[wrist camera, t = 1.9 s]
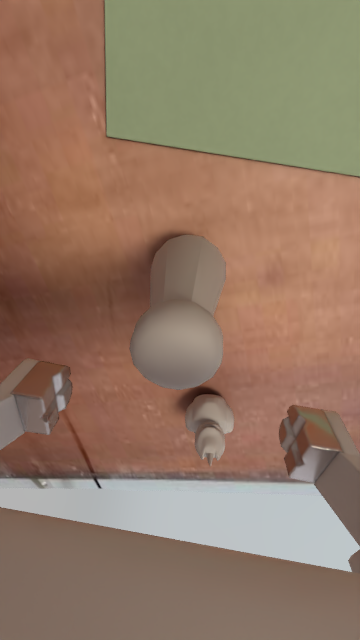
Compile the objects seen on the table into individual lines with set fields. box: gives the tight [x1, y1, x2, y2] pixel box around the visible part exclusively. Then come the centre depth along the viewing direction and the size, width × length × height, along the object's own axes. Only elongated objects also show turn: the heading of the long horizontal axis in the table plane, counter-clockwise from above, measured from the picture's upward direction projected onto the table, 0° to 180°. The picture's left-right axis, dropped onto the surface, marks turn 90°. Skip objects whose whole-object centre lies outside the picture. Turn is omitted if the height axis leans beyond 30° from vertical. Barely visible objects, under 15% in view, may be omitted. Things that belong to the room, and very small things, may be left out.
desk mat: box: [105, 0, 360, 177], centre depth 13 cm, size 25×15×1 cm, turn 82°
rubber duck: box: [185, 394, 234, 466], centre depth 27 cm, size 5×7×8 cm
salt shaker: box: [130, 235, 226, 390], centre depth 16 cm, size 6×6×13 cm
